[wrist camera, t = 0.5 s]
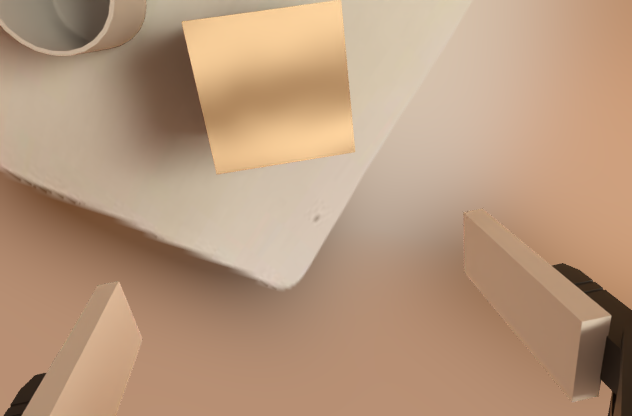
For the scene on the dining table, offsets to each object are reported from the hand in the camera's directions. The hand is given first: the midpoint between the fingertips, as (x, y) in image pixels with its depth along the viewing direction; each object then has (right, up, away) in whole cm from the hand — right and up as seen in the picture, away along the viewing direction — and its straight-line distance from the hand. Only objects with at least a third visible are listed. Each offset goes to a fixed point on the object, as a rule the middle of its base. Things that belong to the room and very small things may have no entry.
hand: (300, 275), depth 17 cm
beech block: (-3, +12, +15) cm, 19 cm away
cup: (-17, +19, +16) cm, 31 cm away
